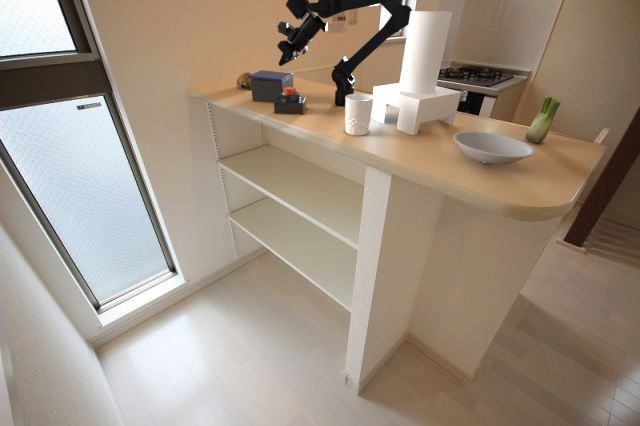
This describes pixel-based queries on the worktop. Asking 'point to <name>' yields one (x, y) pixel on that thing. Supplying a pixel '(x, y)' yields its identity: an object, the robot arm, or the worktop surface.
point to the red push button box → (290, 104)
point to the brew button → (289, 90)
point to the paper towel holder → (420, 76)
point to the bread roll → (244, 81)
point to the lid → (270, 75)
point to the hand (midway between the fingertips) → (279, 65)
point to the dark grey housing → (268, 89)
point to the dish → (492, 147)
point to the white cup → (358, 113)
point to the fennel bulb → (543, 120)
